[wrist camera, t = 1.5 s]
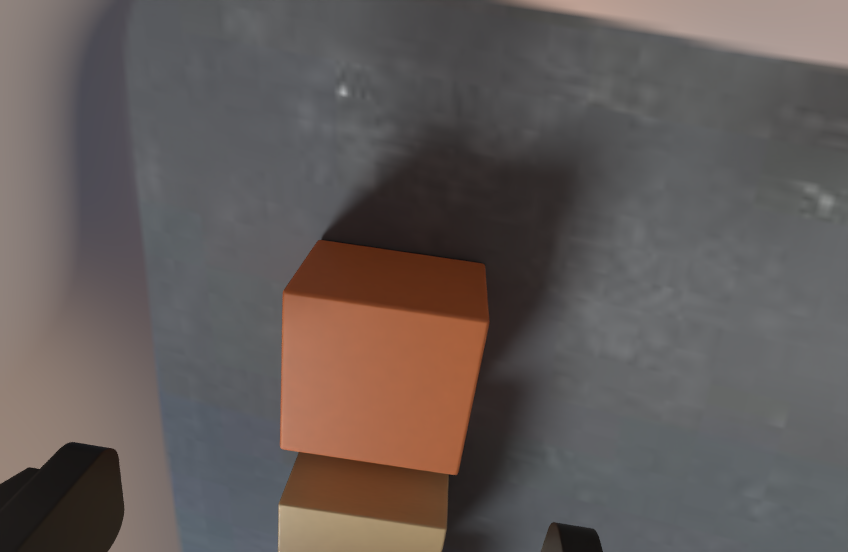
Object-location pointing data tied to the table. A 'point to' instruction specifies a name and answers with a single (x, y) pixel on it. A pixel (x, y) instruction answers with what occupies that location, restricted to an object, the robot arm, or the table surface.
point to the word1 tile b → (361, 507)
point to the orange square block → (381, 355)
